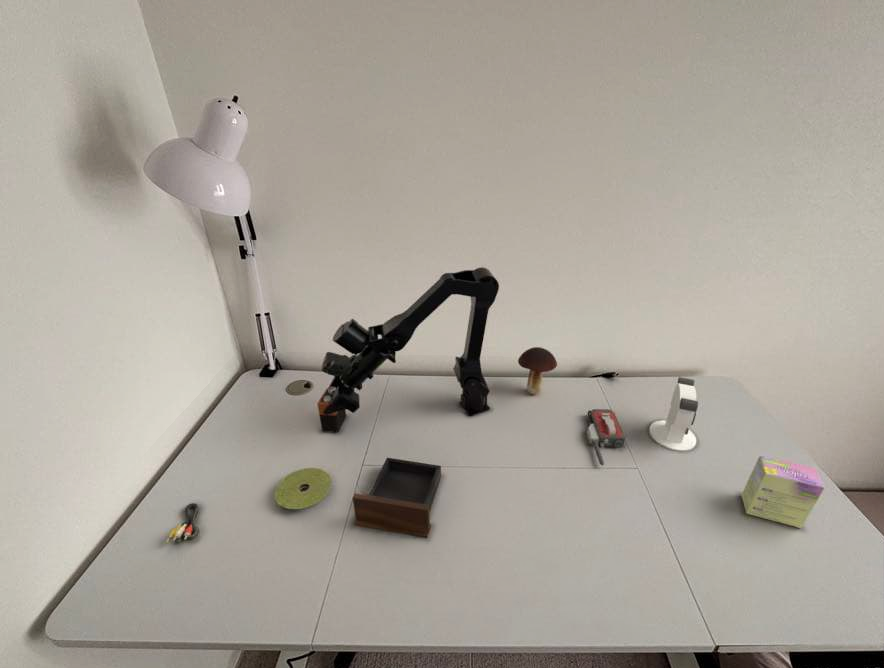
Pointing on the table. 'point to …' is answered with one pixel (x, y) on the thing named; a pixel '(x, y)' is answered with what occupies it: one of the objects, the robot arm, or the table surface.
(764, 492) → the box
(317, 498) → the mat
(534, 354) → the decorative mushroom
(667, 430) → the white upright stand
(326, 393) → the battery
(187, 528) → the composite cable
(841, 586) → the table surface
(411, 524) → the wooden drawer
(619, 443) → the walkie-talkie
